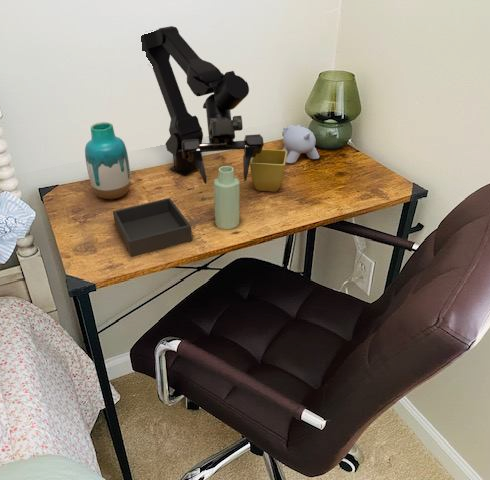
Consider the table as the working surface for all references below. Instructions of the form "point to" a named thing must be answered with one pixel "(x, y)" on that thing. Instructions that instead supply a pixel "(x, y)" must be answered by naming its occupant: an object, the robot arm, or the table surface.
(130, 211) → the bin
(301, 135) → the hippopotamus toy
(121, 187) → the vase
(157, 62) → the robot arm
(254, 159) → the flower pot
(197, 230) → the table surface
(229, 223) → the bottle
